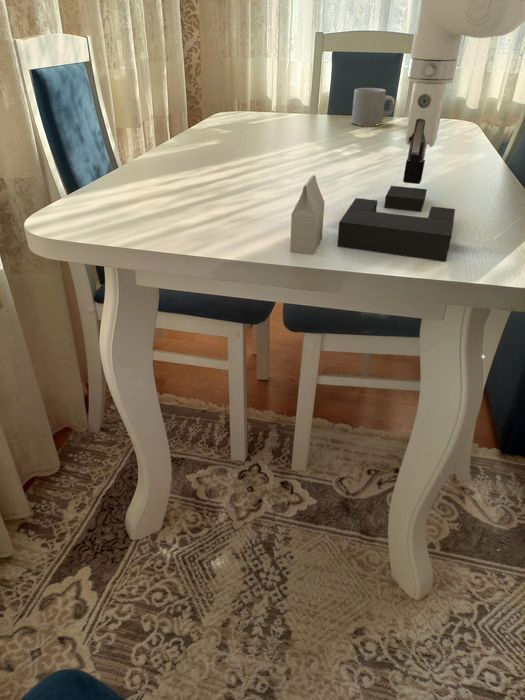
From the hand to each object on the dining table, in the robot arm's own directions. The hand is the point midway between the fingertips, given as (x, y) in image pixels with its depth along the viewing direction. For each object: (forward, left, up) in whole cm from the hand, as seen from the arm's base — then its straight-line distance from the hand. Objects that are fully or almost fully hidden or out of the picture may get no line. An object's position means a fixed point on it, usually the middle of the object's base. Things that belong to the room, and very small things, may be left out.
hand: (411, 181), depth 93 cm
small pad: (0, +7, -4) cm, 8 cm away
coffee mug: (+21, -80, -4) cm, 82 cm away
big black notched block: (0, +19, -4) cm, 20 cm away
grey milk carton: (+13, +27, -4) cm, 30 cm away
